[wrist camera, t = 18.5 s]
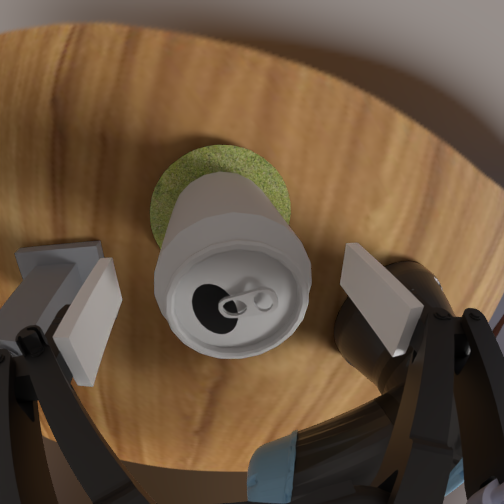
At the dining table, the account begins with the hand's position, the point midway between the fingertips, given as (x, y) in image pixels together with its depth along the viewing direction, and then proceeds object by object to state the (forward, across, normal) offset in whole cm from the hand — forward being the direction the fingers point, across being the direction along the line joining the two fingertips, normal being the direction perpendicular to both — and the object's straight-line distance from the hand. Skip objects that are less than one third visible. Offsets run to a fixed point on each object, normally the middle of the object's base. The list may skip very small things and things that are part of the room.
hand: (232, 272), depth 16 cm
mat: (+10, 0, -1) cm, 10 cm away
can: (+8, 0, 0) cm, 8 cm away
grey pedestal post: (+10, +16, +6) cm, 20 cm away
